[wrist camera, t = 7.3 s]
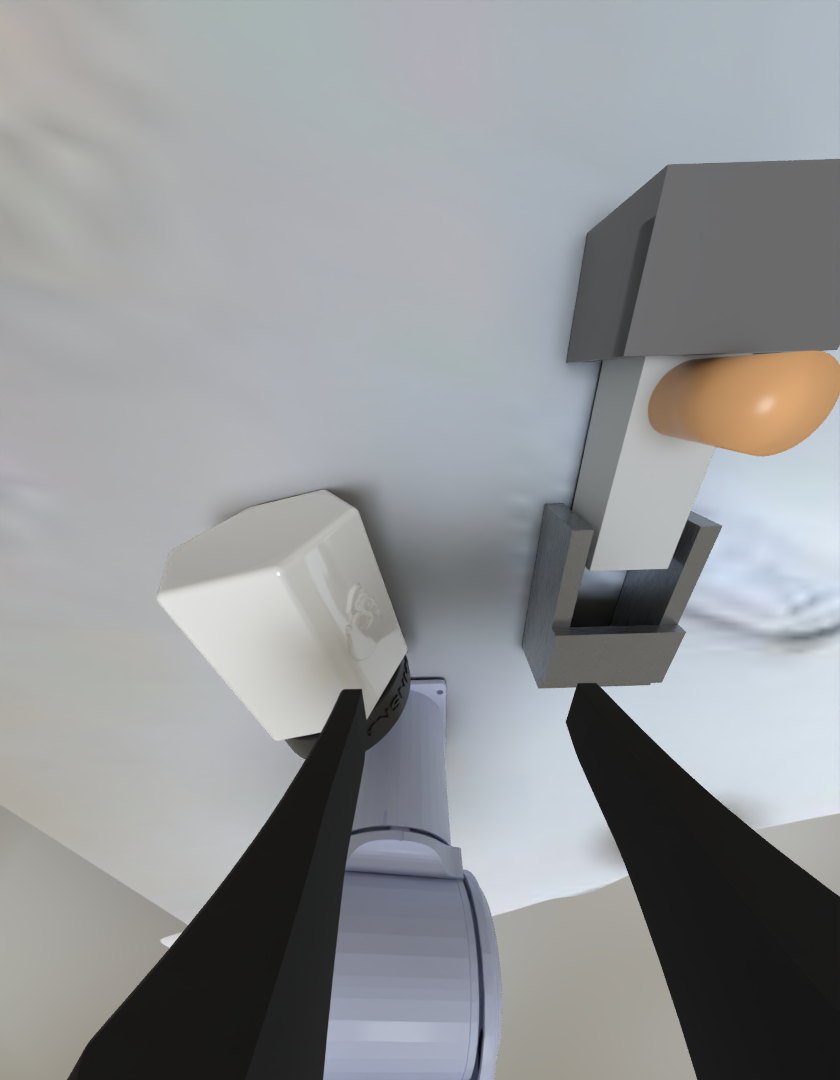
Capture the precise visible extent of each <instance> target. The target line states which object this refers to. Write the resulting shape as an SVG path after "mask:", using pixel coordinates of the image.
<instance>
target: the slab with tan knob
mask: <svg viewBox="0 0 840 1080" xmlns="http://www.w3.org/2000/svg"><path fill="white" fill-rule="evenodd" d="M839 393H840V365H839V363H838V362H837V360H836V359H835V358H834V357H833V356H831V355H830V354H828V353H826V352H822V351H813V350H811V351H797V352H784V353H770V354H756V355H753V353H742V354H710V355H679V356H647V357H632V358H622V359H612V360H603V364H602V369H601V374H600V378H599V383H598V388H597V393H596V398H595V402H594V407H593V412H592V417H591V422H590V426H589V431H588V436H587V441H586V446H585V450H584V455H583V460H582V465H581V469H580V474H579V479H578V484H577V489H576V493H575V498H574V503H573V508H572V512H573V513H575V514H576V515H577V516H578V517H579V518H581V519H582V520H583V521H584V522H585V523H586V524H588V525H589V526H590V527H591V528H592V529H594V532H593V536H592V540H591V544H590V548H589V552H588V556H587V560H586V564H585V566H586V568H587V569H588V570H589V571H611V570H644V569H668V567H669V564H670V562H671V559H672V557H673V554H674V552H675V549H676V547H677V544H678V542H679V539H680V537H681V534H682V532H683V529H684V527H685V524H686V521H687V519H688V516H689V514H690V511H691V509H692V506H693V504H694V501H695V499H696V496H697V494H698V491H699V489H700V486H701V484H702V481H703V478H704V476H705V473H706V471H707V468H708V466H709V463H710V461H711V458H712V456H713V453H714V451H715V448H716V447H719V448H723V449H727V450H732V451H736V452H741V453H745V454H749V455H754V456H769V455H774V454H778V453H781V452H783V451H786V450H788V449H790V448H792V447H794V446H796V445H797V444H799V443H800V442H802V441H803V440H804V439H806V438H807V437H808V436H810V435H811V434H812V433H813V432H814V431H815V430H816V429H817V428H818V427H819V426H820V425H821V424H822V423H823V421H824V420H825V419H826V418H827V416H828V415H829V414H830V412H831V410H832V409H833V407H834V405H835V403H836V401H837V399H838V396H839Z"/></svg>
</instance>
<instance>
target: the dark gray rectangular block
mask: <svg viewBox="0 0 840 1080" xmlns="http://www.w3.org/2000/svg"><path fill="white" fill-rule="evenodd" d="M839 345H840V159H825V160H794V161H764V162H733V163H703V164H672V165H667V166H666V167H665V168H664V169H662V170H661V171H660V172H659V173H658V174H657V175H655V176H654V177H653V178H652V179H651V180H649V181H648V182H647V183H646V184H645V185H644V186H642V187H641V188H640V189H639V190H638V191H637V192H635V193H634V194H633V195H632V196H631V197H629V198H628V199H627V200H626V201H625V202H624V203H622V204H621V205H620V206H619V207H618V208H616V209H615V210H614V211H613V212H612V213H611V214H609V215H608V216H607V217H606V218H605V219H604V220H602V221H601V222H600V223H599V224H598V225H596V226H595V227H594V228H593V229H592V230H591V231H589V232H588V233H587V239H586V245H585V251H584V257H583V263H582V269H581V276H580V282H579V288H578V294H577V300H576V306H575V313H574V319H573V325H572V331H571V337H570V343H569V350H568V356H567V362H566V363H568V362H592V361H602V360H612V359H622V358H632V357H647V356H679V355H710V354H742V353H753V355H756V354H770V353H784V352H797V351H811V350H813V351H824V350H837V349H838V347H839Z"/></svg>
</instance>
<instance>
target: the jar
mask: <svg viewBox="0 0 840 1080" xmlns="http://www.w3.org/2000/svg"><path fill="white" fill-rule="evenodd" d="M156 599H157V601H158V603H159V604H160V605H161V607H162V608H163V609H164V610H165V611H166V613H167V614H168V615H169V616H170V617H171V618H172V620H173V621H174V622H175V623H176V624H177V626H178V627H179V628H180V629H181V630H182V632H183V633H184V634H185V635H186V636H187V637H188V639H189V640H190V641H191V642H192V643H193V645H194V646H195V647H196V648H197V649H198V651H199V652H200V653H201V654H202V655H203V656H204V658H205V659H206V660H207V661H208V662H209V664H210V665H211V666H212V667H213V668H214V670H215V671H216V672H217V673H218V674H219V675H220V677H221V678H222V679H223V680H224V681H225V683H226V684H227V685H228V686H229V687H230V689H231V690H232V691H233V692H234V693H235V695H236V696H237V697H238V698H239V699H240V700H241V702H242V703H243V704H244V705H245V706H246V708H247V709H248V710H249V711H250V712H251V714H252V715H253V716H254V717H255V718H256V719H257V721H258V722H259V723H260V724H261V725H262V727H263V728H264V729H265V730H266V731H267V733H268V734H269V735H270V736H271V737H272V738H273V740H275V741H280V740H285V741H286V742H287V743H288V745H289V746H290V747H291V748H292V750H293V751H294V752H295V753H296V754H298V755H299V756H300V757H302V758H304V759H306V758H307V756H308V755H309V753H310V751H311V749H312V748H313V746H314V744H315V742H316V740H317V739H318V737H319V735H320V733H321V731H322V729H323V727H324V726H325V724H326V722H327V720H328V718H329V716H330V714H331V712H332V710H333V708H334V705H335V703H336V701H337V699H338V697H339V694H340V692H341V691H342V690H343V689H362V693H363V700H364V706H365V713H366V719H367V726H368V730H367V741H366V751H367V750H368V749H370V748H372V747H373V746H374V745H375V744H377V743H378V742H379V741H380V740H381V739H382V738H384V737H385V735H386V734H387V733H388V732H389V731H390V730H391V729H392V727H393V726H394V725H395V724H396V722H397V721H398V719H399V717H400V716H401V714H402V712H403V710H404V708H405V706H406V703H407V700H408V696H409V692H410V683H411V679H410V670H409V666H408V660H407V657H406V653H407V646H406V643H405V640H404V637H403V635H402V632H401V629H400V626H399V623H398V621H397V618H396V615H395V612H394V609H393V606H392V604H391V601H390V598H389V595H388V592H387V590H386V587H385V584H384V581H383V578H382V576H381V573H380V570H379V567H378V564H377V561H376V559H375V556H374V553H373V550H372V547H371V545H370V542H369V539H368V536H367V533H366V531H365V528H364V525H363V522H362V519H361V517H360V514H359V511H358V510H357V509H356V508H355V507H353V506H351V505H350V504H348V503H346V502H345V501H343V500H342V499H340V498H338V497H337V496H335V495H334V494H332V493H330V492H329V491H327V490H319V491H315V492H311V493H307V494H302V495H298V496H294V497H290V498H286V499H282V500H277V501H273V502H269V503H265V504H261V505H257V506H252V507H249V508H247V509H245V510H243V511H242V512H240V513H238V514H236V515H234V516H233V517H231V518H229V519H227V520H225V521H223V522H222V523H220V524H218V525H216V526H214V527H212V528H211V529H209V530H207V531H205V532H203V533H201V534H200V535H198V536H196V537H194V538H192V539H191V540H189V541H187V542H185V543H183V544H181V545H180V546H178V547H176V548H174V549H172V550H171V551H170V552H169V553H168V557H167V560H166V564H165V568H164V571H163V575H162V578H161V582H160V586H159V589H158V593H157V597H156Z"/></svg>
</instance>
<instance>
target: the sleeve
mask: <svg viewBox="0 0 840 1080" xmlns="http://www.w3.org/2000/svg"><path fill="white" fill-rule="evenodd" d="M721 528H722V526H721V525H719V524H717V523H715V522H713V521H711V520H709V519H707V518H705V517H702V516H700V515H698V514H696V513H694V512H692V511H690V514H689V516H688V519H687V521H686V524H685V527H684V529H683V532H682V534H681V537H680V539H679V542H678V544H677V547H676V549H675V552H674V554H673V557H672V559H671V562H670V564H669V567H668V569H644V570H628V572H627V575H626V578H625V582H624V585H623V588H622V591H621V594H620V597H619V600H618V603H617V606H616V609H615V612H614V615H613V618H612V621H611V624H610V626H600V627H570V624H571V620H572V616H573V612H574V608H575V604H576V600H577V596H578V592H579V588H580V584H581V580H582V576H583V572H584V568H585V564H586V560H587V556H588V552H589V548H590V544H591V540H592V536H593V532H594V529H592V528H591V527H590V526H589V525H588V524H586V523H585V522H584V521H583V520H582V519H581V518H579V517H578V516H577V515H576V514H575V513H573V512H572V511H571V510H570V509H569V508H568V507H566V506H565V505H564V504H545V508H544V514H543V520H542V526H541V532H540V539H539V545H538V551H537V557H536V563H535V569H534V575H533V581H532V587H531V593H530V599H529V605H528V611H527V617H526V623H525V629H524V636H523V642H522V648H523V650H524V653H525V656H526V658H527V661H528V663H529V666H530V668H531V671H532V673H533V676H534V678H535V681H536V683H537V686H538V688H566V687H577V684H578V683H597V684H598V685H599V686H633V685H650V684H651V683H659V682H662V681H663V679H664V677H665V674H666V672H667V670H668V668H669V666H670V664H671V662H672V660H673V658H674V656H675V654H676V652H677V649H678V647H679V645H680V643H681V641H682V639H683V637H684V635H685V633H686V632H685V631H684V630H683V629H682V628H681V627H680V626H679V625H678V622H679V620H680V618H681V616H682V613H683V611H684V609H685V607H686V605H687V602H688V600H689V598H690V596H691V594H692V591H693V589H694V587H695V585H696V583H697V581H698V578H699V576H700V574H701V572H702V570H703V567H704V565H705V563H706V561H707V559H708V556H709V554H710V552H711V550H712V548H713V545H714V543H715V541H716V539H717V537H718V534H719V532H720V530H721Z"/></svg>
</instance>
